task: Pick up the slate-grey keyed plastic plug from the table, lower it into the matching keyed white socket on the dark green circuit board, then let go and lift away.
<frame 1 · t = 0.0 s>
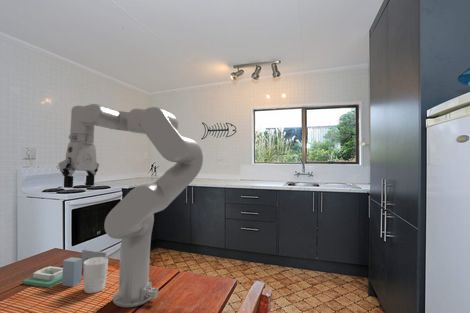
hand: (79, 186, 92), 37 cm above the table, tool pointing down, fingers open, 9 cm apart
header board: (51, 278, 98), on the table
plug: (71, 283, 94), on the table
white cup: (94, 289, 91), on the table
cassette: (93, 269, 108), on the table
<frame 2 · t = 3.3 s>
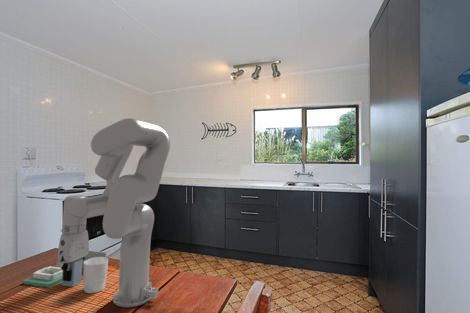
hand: (71, 277, 94), 2 cm above the table, tool pointing down, fingers closed on plug, 3 cm apart
plug: (71, 283, 94), on the table, touching gripper
everything else where it was.
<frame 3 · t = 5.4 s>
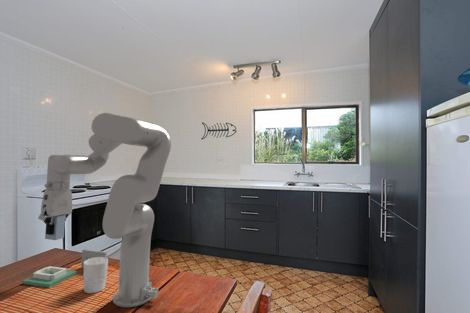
hand: (54, 232, 98), 18 cm above the table, tool pointing down, fingers closed on plug, 3 cm apart
plug: (54, 238, 98), point 16 cm above the table, touching gripper
everything else where it was.
when the fingers open (4 cm above the table, at t = 7.8 s): plug stays where it is, resting on header board.
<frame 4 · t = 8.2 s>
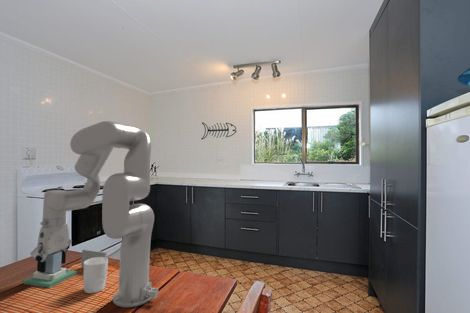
hand: (51, 267, 98), 4 cm above the table, tool pointing down, fingers open, 8 cm apart
plug: (51, 275, 98), point 1 cm above the table, touching header board
everything else where it was.
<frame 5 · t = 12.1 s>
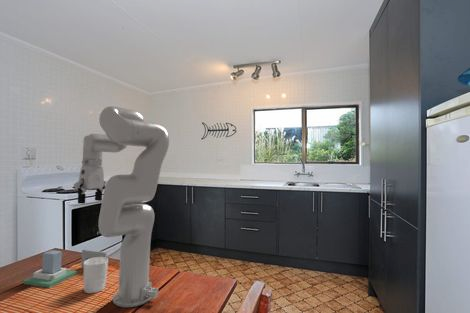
hand: (90, 201, 111), 28 cm above the table, tool pointing down, fingers open, 9 cm apart
nothing on the table moved.
at the end: plug 0.0 cm off-centre on the header board, point 1.2 cm above the header board's base; plug tilted 0°; the gripper is holding nothing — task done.
